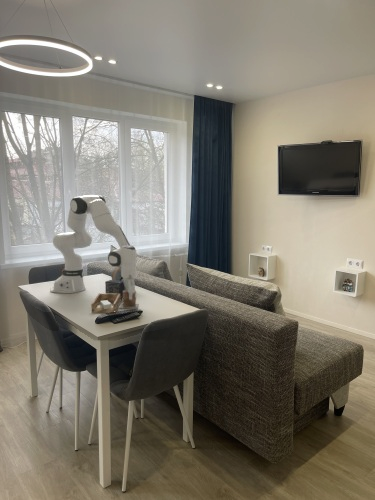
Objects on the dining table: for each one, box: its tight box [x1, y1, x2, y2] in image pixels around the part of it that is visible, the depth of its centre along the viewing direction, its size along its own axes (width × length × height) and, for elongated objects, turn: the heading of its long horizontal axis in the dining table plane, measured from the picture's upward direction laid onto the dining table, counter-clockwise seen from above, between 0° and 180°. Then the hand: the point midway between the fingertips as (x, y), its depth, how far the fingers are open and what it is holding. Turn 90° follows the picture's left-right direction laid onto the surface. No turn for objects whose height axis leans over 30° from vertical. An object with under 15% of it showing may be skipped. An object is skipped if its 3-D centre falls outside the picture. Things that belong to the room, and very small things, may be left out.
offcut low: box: [96, 304, 114, 309], centre depth 206 cm, size 9×4×2 cm, turn 81°
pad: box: [119, 303, 140, 310], centre depth 214 cm, size 10×8×1 cm
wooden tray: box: [91, 293, 121, 314], centre depth 212 cm, size 13×21×5 cm, turn 3°
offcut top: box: [99, 300, 112, 309], centre depth 206 cm, size 8×4×2 cm, turn 29°
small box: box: [104, 279, 124, 300], centre depth 231 cm, size 11×6×10 cm, turn 71°
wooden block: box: [122, 290, 137, 307], centre depth 213 cm, size 7×3×9 cm, turn 107°
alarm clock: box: [111, 266, 126, 290], centre depth 248 cm, size 14×10×18 cm
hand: (129, 296), depth 213 cm, fingers open, 8 cm apart
